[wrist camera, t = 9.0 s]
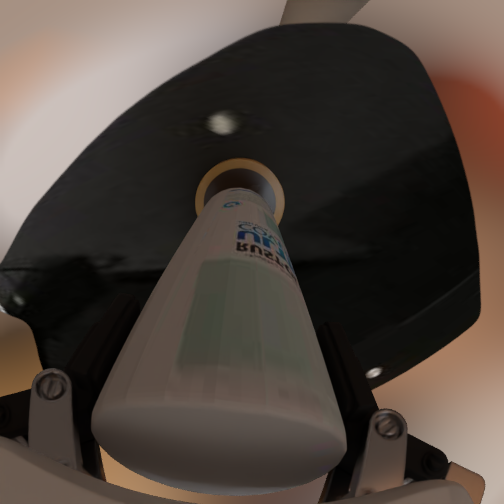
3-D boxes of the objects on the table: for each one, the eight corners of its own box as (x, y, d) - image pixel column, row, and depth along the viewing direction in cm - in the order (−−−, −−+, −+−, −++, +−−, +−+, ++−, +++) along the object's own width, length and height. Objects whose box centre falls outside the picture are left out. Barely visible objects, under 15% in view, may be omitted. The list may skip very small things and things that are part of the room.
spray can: (184, 218, 23) (57, 429, 5) (241, 169, 22) (213, 344, 3) (233, 270, 25) (217, 502, 7) (290, 227, 24) (384, 455, 5)
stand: (204, 152, 30) (200, 153, 27) (289, 165, 31) (292, 167, 28) (194, 232, 34) (190, 239, 31) (273, 243, 34) (275, 252, 32)
